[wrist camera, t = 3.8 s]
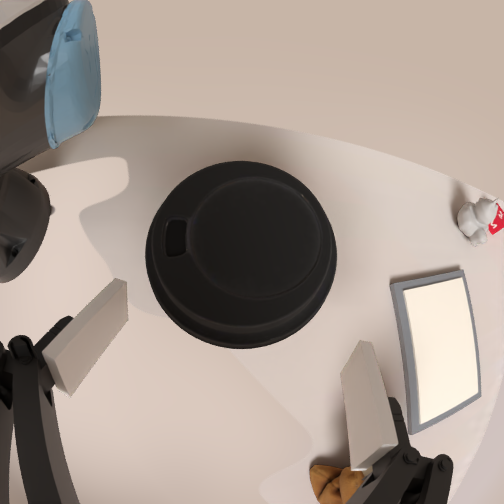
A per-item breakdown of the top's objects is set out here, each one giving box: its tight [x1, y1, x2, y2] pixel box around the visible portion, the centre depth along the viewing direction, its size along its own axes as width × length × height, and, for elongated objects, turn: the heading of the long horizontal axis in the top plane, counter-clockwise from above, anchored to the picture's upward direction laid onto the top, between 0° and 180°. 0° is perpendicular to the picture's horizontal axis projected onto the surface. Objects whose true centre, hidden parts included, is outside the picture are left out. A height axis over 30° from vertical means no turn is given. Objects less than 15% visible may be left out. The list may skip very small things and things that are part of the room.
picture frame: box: [390, 270, 481, 435], centre depth 24 cm, size 17×12×1 cm
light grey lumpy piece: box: [457, 198, 498, 247], centre depth 27 cm, size 5×7×8 cm
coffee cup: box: [145, 161, 337, 349], centre depth 19 cm, size 9×9×15 cm
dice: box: [488, 203, 504, 235], centre depth 30 cm, size 3×3×3 cm
